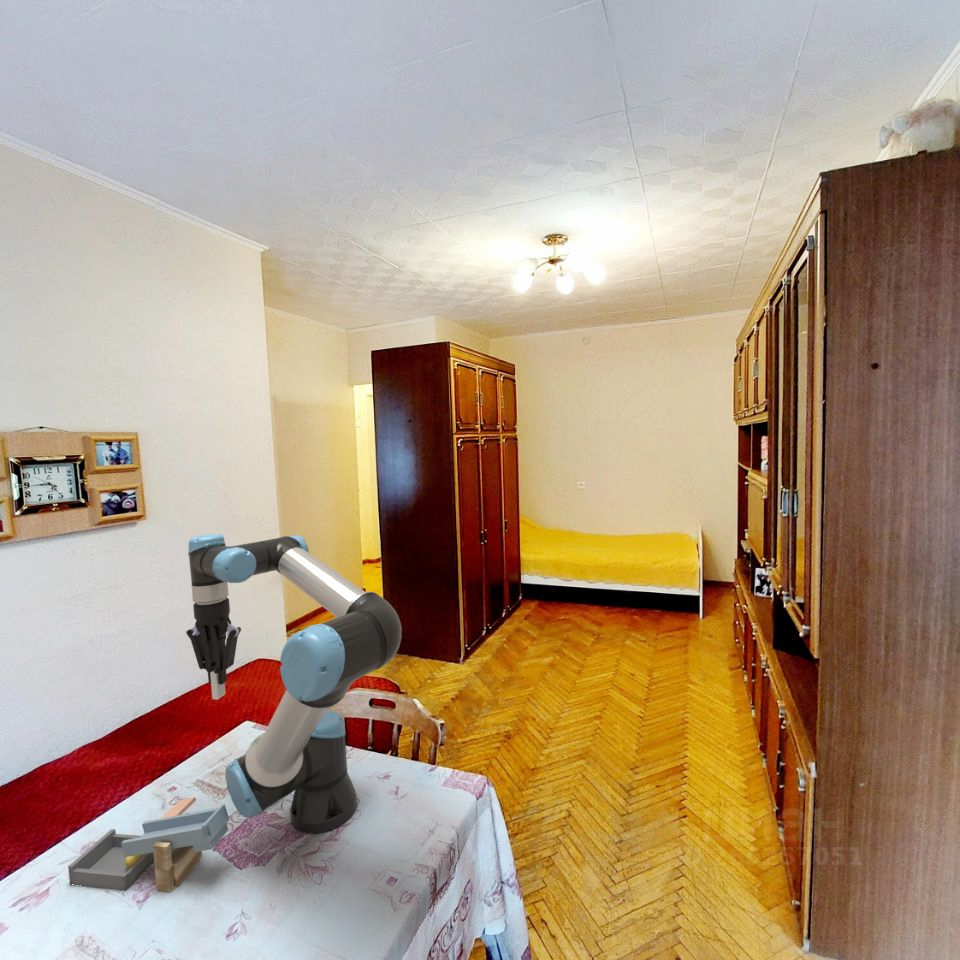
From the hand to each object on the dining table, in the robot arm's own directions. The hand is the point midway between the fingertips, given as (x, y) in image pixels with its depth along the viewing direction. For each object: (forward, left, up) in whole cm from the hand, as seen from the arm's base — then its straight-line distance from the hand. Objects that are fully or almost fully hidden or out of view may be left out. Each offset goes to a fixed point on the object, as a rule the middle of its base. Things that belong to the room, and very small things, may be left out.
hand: (219, 696), depth 120 cm
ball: (+9, +18, -26) cm, 33 cm away
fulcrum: (-2, +18, -28) cm, 34 cm away
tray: (+13, +18, -28) cm, 36 cm away
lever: (-3, +13, -23) cm, 26 cm away
